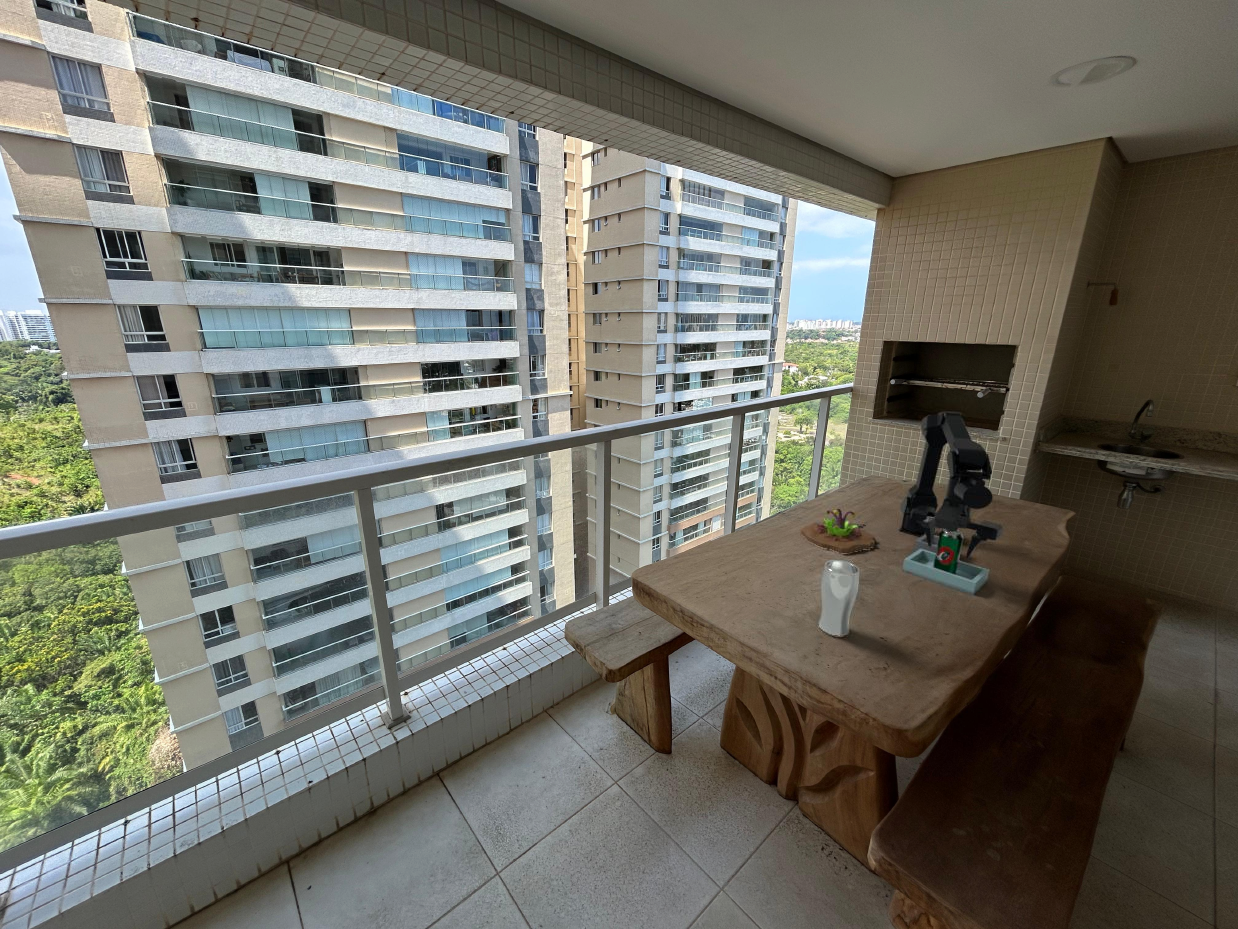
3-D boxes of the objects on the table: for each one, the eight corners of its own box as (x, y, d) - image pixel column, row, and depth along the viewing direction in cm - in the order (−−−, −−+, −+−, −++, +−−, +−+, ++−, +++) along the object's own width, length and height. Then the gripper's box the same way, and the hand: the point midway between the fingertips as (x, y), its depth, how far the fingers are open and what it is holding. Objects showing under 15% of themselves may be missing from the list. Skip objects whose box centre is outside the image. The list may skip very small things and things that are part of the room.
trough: (902, 570, 124) (904, 559, 123) (918, 559, 130) (920, 548, 129) (972, 595, 112) (975, 583, 111) (986, 581, 118) (989, 569, 117)
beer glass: (810, 620, 102) (817, 559, 98) (839, 619, 102) (848, 558, 98) (826, 640, 95) (835, 575, 91) (858, 638, 95) (868, 574, 92)
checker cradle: (913, 553, 134) (915, 539, 133) (925, 545, 139) (927, 531, 138) (948, 564, 127) (951, 550, 126) (959, 555, 132) (962, 541, 131)
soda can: (959, 578, 118) (968, 536, 115) (937, 576, 119) (945, 534, 116) (950, 569, 123) (958, 528, 119) (929, 567, 124) (937, 526, 121)
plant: (789, 536, 147) (792, 503, 144) (826, 524, 157) (830, 493, 154) (846, 560, 130) (852, 524, 127) (884, 545, 140) (890, 511, 137)
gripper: (906, 492, 118) (896, 547, 122) (995, 513, 103) (981, 575, 107) (923, 484, 124) (913, 537, 128) (1009, 503, 110) (996, 561, 114)
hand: (948, 551), depth 119 cm, fingers open, 8 cm apart
